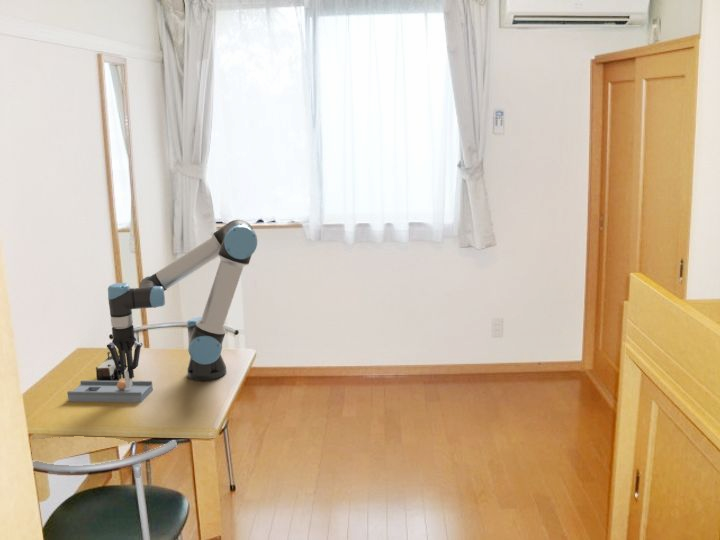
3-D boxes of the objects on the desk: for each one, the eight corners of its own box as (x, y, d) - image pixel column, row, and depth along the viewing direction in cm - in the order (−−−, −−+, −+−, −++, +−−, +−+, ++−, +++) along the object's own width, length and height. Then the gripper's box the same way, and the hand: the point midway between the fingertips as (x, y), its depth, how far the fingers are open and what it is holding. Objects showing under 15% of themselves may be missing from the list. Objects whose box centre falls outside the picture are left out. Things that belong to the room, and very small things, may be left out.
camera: (114, 385, 291) (111, 360, 289) (96, 385, 292) (92, 360, 290) (129, 370, 306) (126, 347, 303) (111, 370, 307) (108, 347, 304)
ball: (128, 380, 280) (119, 377, 280) (125, 384, 277) (116, 381, 277) (127, 388, 281) (118, 386, 281) (123, 392, 278) (114, 390, 278)
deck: (152, 390, 285) (151, 380, 284) (141, 402, 274) (140, 392, 273) (82, 389, 288) (81, 380, 287) (68, 401, 277) (67, 392, 276)
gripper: (143, 322, 276) (149, 382, 282) (109, 322, 278) (116, 382, 283) (135, 329, 269) (142, 390, 275) (100, 328, 270) (108, 390, 276)
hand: (129, 386), depth 279 cm, fingers closed
